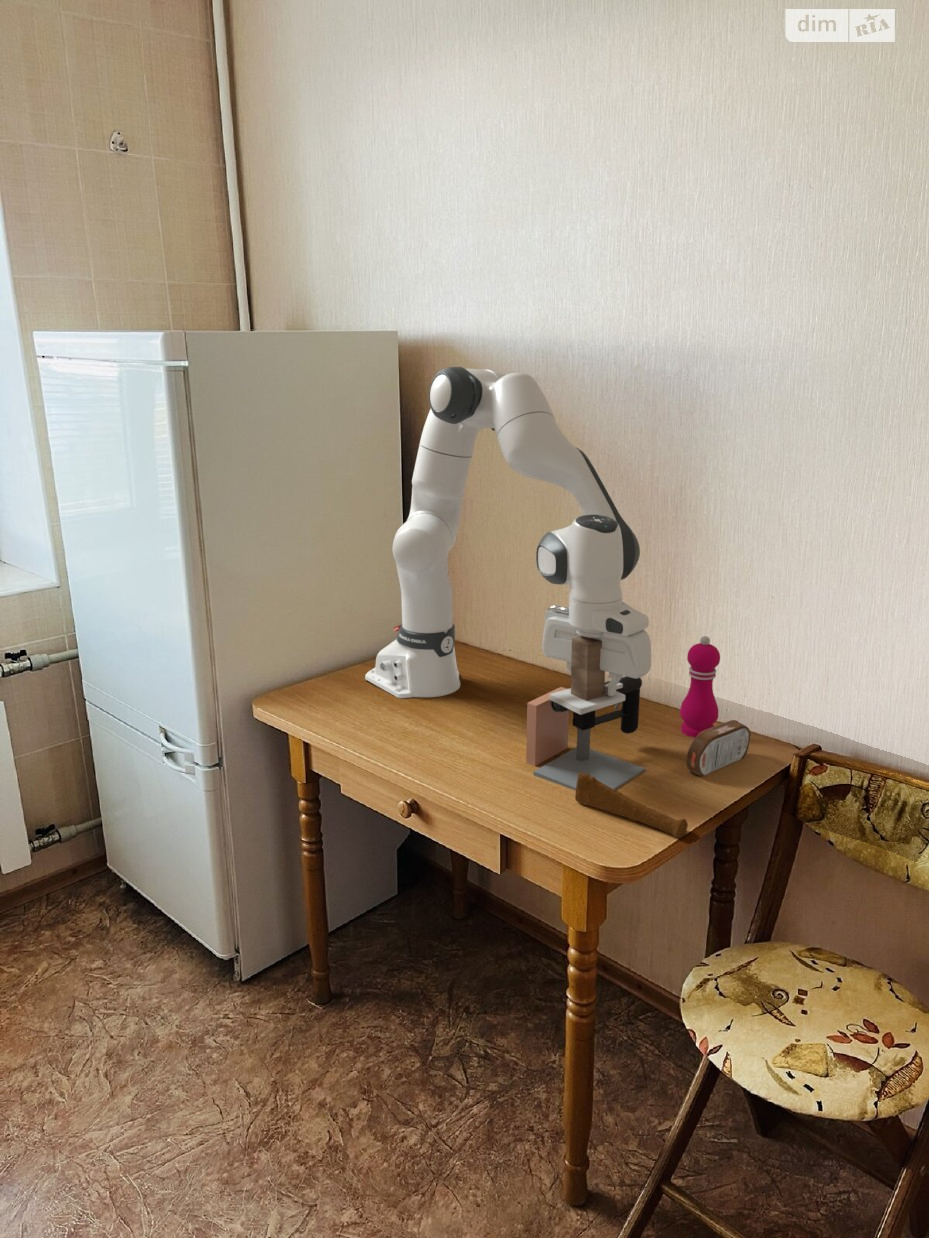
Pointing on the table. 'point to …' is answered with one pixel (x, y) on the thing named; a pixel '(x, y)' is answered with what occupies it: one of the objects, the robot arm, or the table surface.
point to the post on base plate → (586, 679)
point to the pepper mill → (700, 689)
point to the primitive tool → (624, 806)
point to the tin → (718, 747)
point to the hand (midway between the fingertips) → (593, 690)
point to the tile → (545, 729)
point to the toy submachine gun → (607, 715)
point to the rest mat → (588, 769)
